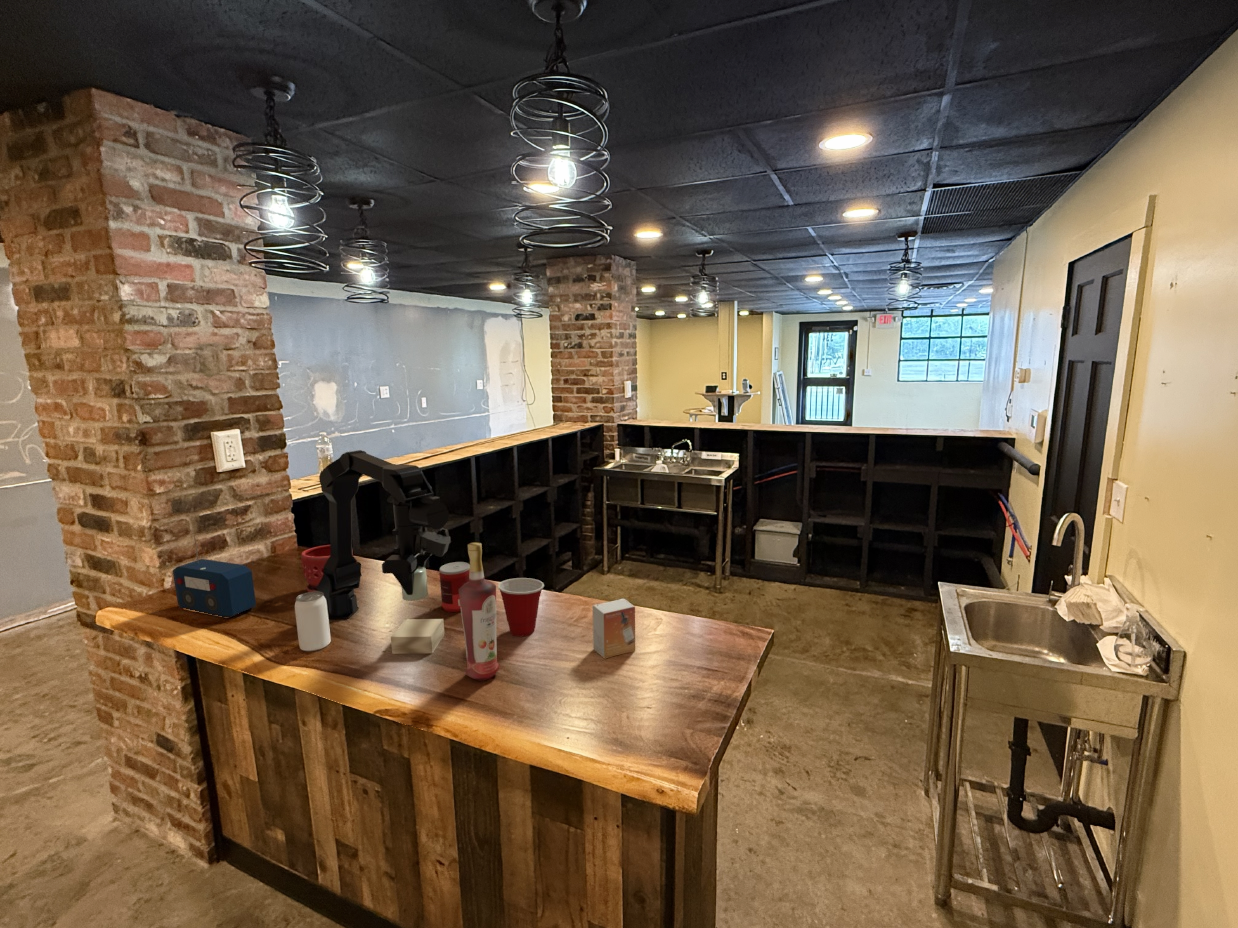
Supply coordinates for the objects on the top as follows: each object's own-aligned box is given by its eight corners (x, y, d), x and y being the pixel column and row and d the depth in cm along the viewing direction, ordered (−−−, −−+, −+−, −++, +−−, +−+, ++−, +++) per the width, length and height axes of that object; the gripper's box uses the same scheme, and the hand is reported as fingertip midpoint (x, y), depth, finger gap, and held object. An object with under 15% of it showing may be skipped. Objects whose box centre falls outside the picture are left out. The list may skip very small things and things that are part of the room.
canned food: (476, 600, 161) (474, 561, 159) (466, 613, 153) (463, 572, 151) (449, 599, 162) (446, 561, 160) (437, 612, 154) (434, 571, 152)
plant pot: (343, 598, 164) (338, 556, 162) (296, 599, 164) (291, 557, 162) (363, 581, 177) (360, 542, 175) (320, 581, 177) (315, 543, 175)
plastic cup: (555, 629, 142) (553, 582, 140) (519, 646, 135) (516, 595, 133) (527, 617, 150) (524, 571, 148) (491, 631, 142) (488, 584, 140)
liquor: (483, 688, 118) (474, 552, 113) (457, 678, 121) (447, 546, 117) (508, 671, 124) (501, 542, 119) (482, 662, 128) (474, 537, 123)
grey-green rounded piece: (398, 601, 132) (396, 575, 131) (407, 591, 137) (405, 566, 136) (423, 600, 132) (421, 574, 131) (431, 591, 137) (429, 566, 136)
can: (337, 640, 139) (332, 592, 137) (315, 653, 133) (309, 603, 131) (315, 637, 141) (310, 589, 139) (293, 649, 135) (286, 599, 133)
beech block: (392, 653, 132) (390, 636, 132) (406, 635, 141) (405, 619, 140) (432, 653, 132) (431, 636, 131) (444, 634, 141) (443, 618, 140)
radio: (173, 611, 158) (161, 538, 154) (205, 598, 166) (195, 529, 162) (228, 622, 150) (217, 546, 147) (259, 608, 158) (250, 536, 155)
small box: (603, 659, 128) (602, 613, 126) (592, 648, 133) (591, 604, 131) (636, 650, 131) (635, 606, 130) (624, 640, 136) (623, 597, 135)
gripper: (431, 534, 122) (437, 605, 125) (456, 511, 141) (461, 574, 143) (377, 535, 123) (384, 606, 125) (409, 512, 141) (415, 575, 144)
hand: (414, 589), depth 134 cm, fingers closed on grey-green rounded piece, 5 cm apart
